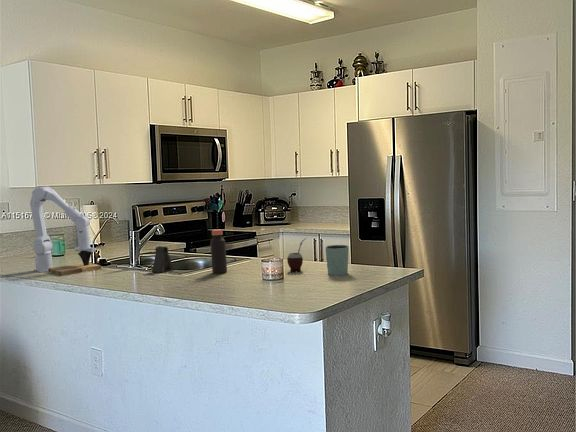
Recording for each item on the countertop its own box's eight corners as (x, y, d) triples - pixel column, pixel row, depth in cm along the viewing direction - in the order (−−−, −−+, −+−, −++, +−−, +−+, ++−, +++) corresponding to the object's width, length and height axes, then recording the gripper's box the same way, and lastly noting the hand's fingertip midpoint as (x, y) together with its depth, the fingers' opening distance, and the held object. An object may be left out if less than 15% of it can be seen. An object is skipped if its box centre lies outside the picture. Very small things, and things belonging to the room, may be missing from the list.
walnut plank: (48, 272, 293) (48, 268, 292) (67, 269, 299) (67, 265, 299) (61, 275, 279) (61, 271, 279) (81, 272, 286) (81, 268, 286)
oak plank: (68, 269, 300) (68, 265, 299) (86, 266, 306) (86, 262, 306) (82, 272, 286) (82, 268, 286) (101, 269, 293) (101, 265, 293)
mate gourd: (284, 271, 259) (282, 239, 257) (296, 268, 264) (294, 236, 263) (296, 273, 254) (295, 239, 252) (308, 270, 259) (306, 237, 258)
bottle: (224, 273, 262) (221, 230, 260) (210, 274, 263) (207, 231, 261) (228, 271, 268) (226, 228, 266) (215, 271, 269) (212, 229, 268)
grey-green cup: (336, 270, 254) (335, 244, 253) (354, 272, 247) (353, 245, 246) (321, 274, 247) (320, 247, 246) (339, 277, 240) (338, 248, 239)
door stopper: (159, 273, 273) (157, 248, 272) (151, 272, 277) (150, 247, 276) (174, 269, 279) (172, 245, 278) (166, 269, 283) (165, 245, 282)
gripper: (68, 240, 296) (71, 266, 297) (86, 240, 288) (88, 267, 289) (80, 238, 302) (82, 263, 303) (97, 238, 294) (100, 264, 295)
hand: (86, 265), depth 297 cm, fingers closed, pressing on oak plank
